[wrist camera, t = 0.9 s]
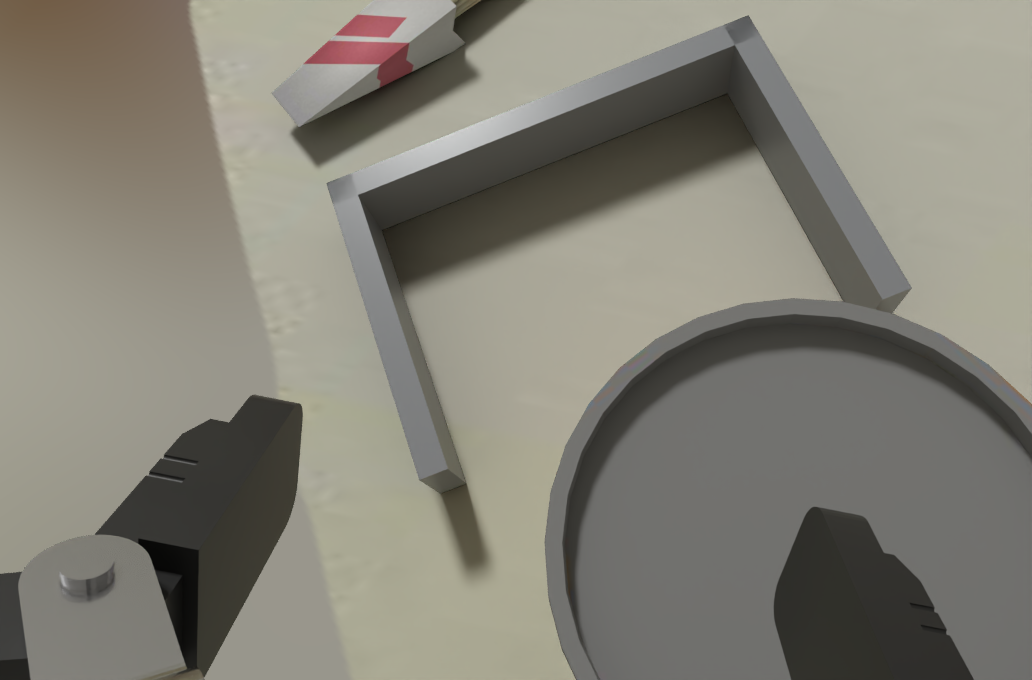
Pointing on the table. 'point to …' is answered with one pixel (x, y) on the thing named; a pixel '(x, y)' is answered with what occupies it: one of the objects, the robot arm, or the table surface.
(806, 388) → the reusable coffee cup
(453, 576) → the table surface
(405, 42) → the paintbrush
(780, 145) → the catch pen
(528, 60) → the table surface
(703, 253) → the table surface
